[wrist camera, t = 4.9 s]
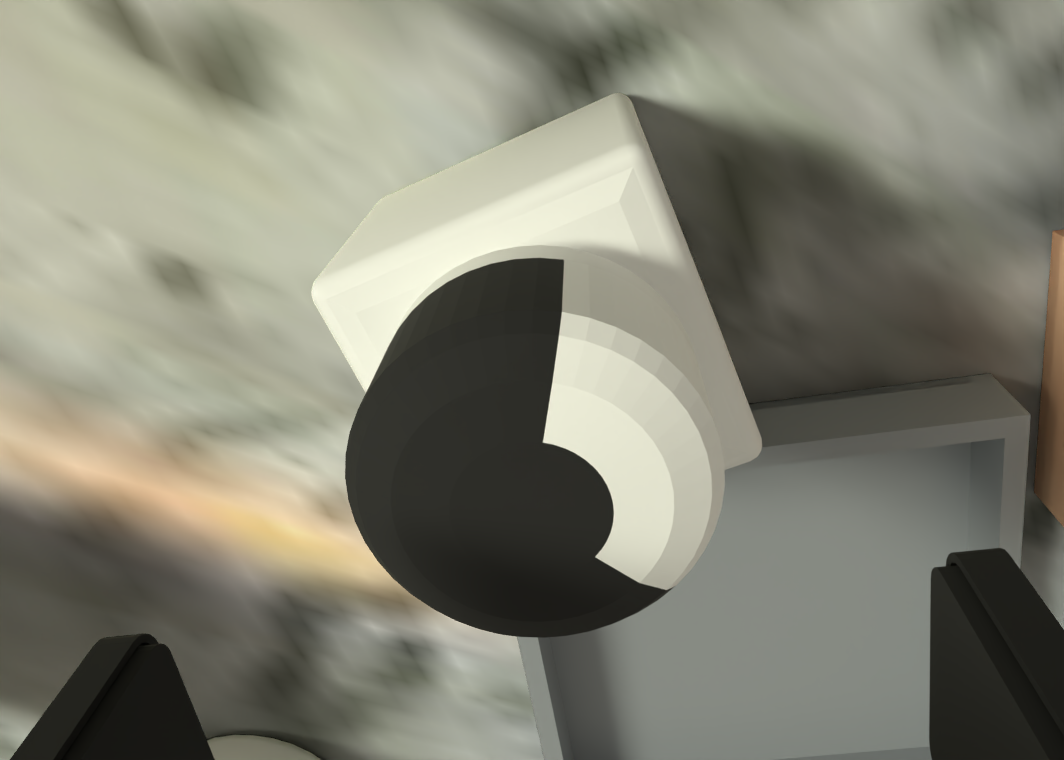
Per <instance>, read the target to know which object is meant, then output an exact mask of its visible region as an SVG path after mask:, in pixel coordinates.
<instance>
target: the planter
mask: <svg viewBox="0 0 1064 760" xmlns="http://www.w3.org/2000/svg"><path fill="white" fill-rule="evenodd" d="M1034 493H1035V494H1036V495H1037V496H1038V497H1039V499H1040V500H1041V501H1042V502H1043V503H1044V504H1045V506H1046V507H1047V508H1048V509H1049V510H1050V512H1051V513H1052V514H1053V515H1054V516H1055V517H1056V519H1057V520H1058V521H1059V522H1060V523H1061V525H1062V526H1063V527H1064V229H1063V230H1056V231H1053V234H1052V248H1051V262H1050V276H1049V290H1048V304H1047V318H1046V331H1045V345H1044V359H1043V373H1042V387H1041V401H1040V415H1039V428H1038V442H1037V456H1036V470H1035V484H1034Z"/></svg>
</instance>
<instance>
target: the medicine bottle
mask: <svg viewBox="0 0 1064 760" xmlns="http://www.w3.org/2000/svg"><path fill="white" fill-rule="evenodd" d="M311 294H312V298H313V302H314V304H315V305H316V307H317V309H318V310H319V312H320V314H321V316H322V317H323V319H324V321H325V323H326V324H327V326H328V328H329V330H330V331H331V333H332V335H333V337H334V338H335V340H336V342H337V344H338V345H339V347H340V349H341V351H342V352H343V354H344V356H345V357H346V359H347V361H348V363H349V364H350V366H351V368H352V370H353V371H354V373H355V375H356V377H357V378H358V380H359V382H360V384H361V385H362V387H363V389H364V391H365V392H366V394H365V396H364V398H363V400H362V402H361V404H360V407H359V409H358V411H357V414H356V416H355V419H354V422H353V425H352V428H351V430H350V434H349V440H348V445H347V451H346V468H345V479H346V486H347V493H348V500H349V503H350V506H351V510H352V513H353V516H354V519H355V522H356V524H357V526H358V528H359V531H360V533H361V535H362V537H363V539H364V541H365V543H366V544H367V546H368V547H369V549H370V550H371V552H372V553H373V555H374V556H375V558H376V559H377V561H378V562H379V563H380V564H381V565H382V566H383V568H384V569H385V570H386V571H387V572H388V573H389V574H390V575H391V577H392V578H393V579H394V580H396V581H397V582H398V583H399V584H400V585H401V586H402V587H404V588H405V589H406V590H407V591H408V592H409V593H411V594H412V595H413V596H415V597H416V598H418V599H419V600H421V601H422V602H424V603H425V604H427V605H428V606H430V607H431V608H433V609H435V610H436V611H438V612H440V613H442V614H444V615H446V616H448V617H450V618H452V619H454V620H456V621H459V622H461V623H464V624H467V625H469V626H472V627H475V628H478V629H482V630H485V631H489V632H493V633H497V634H503V635H510V636H518V637H538V638H547V637H559V636H569V635H574V634H579V633H584V632H589V631H592V630H596V629H599V628H602V627H605V626H608V625H611V624H614V623H616V622H618V621H621V620H623V619H625V618H627V617H629V616H632V615H634V614H636V613H638V612H640V611H641V610H643V609H645V608H646V607H648V606H650V605H651V604H653V603H654V602H656V601H658V600H659V599H660V598H661V597H663V596H664V595H665V594H666V593H668V592H669V591H670V590H671V589H673V588H674V587H675V586H676V585H677V584H678V583H679V582H680V581H681V580H682V579H683V578H684V577H685V576H686V575H687V573H688V572H689V571H690V570H691V569H692V568H693V566H694V565H695V564H696V562H697V561H698V559H699V558H700V556H701V555H702V554H703V552H704V551H705V549H706V547H707V545H708V543H709V541H710V539H711V537H712V535H713V533H714V531H715V528H716V525H717V521H718V518H719V515H720V512H721V509H722V502H723V495H724V488H725V470H726V469H729V468H732V467H735V466H738V465H741V464H744V463H747V462H750V461H752V460H753V459H755V458H756V457H758V455H759V453H760V452H761V449H762V438H761V435H760V433H759V430H758V428H757V425H756V422H755V420H754V417H753V414H752V412H751V409H750V406H749V404H748V401H747V399H746V396H745V393H744V391H743V388H742V385H741V383H740V380H739V378H738V375H737V372H736V370H735V367H734V364H733V362H732V359H731V357H730V354H729V351H728V349H727V346H726V343H725V341H724V338H723V336H722V333H721V330H720V328H719V325H718V322H717V320H716V317H715V315H714V312H713V310H712V307H711V304H710V302H709V299H708V297H707V294H706V292H705V289H704V286H703V284H702V281H701V279H700V276H699V274H698V271H697V268H696V266H695V263H694V261H693V258H692V256H691V253H690V250H689V248H688V245H687V243H686V240H685V238H684V235H683V232H682V230H681V227H680V225H679V222H678V220H677V217H676V214H675V212H674V209H673V207H672V204H671V202H670V199H669V196H668V194H667V191H666V189H665V186H664V184H663V181H662V178H661V176H660V173H659V171H658V168H657V166H656V163H655V160H654V158H653V155H652V153H651V150H650V148H649V145H648V142H647V140H646V137H645V135H644V132H643V130H642V127H641V124H640V122H639V119H638V117H637V114H636V112H635V109H634V106H633V104H632V102H631V100H630V99H629V98H628V96H626V95H624V94H621V93H616V94H611V95H609V96H607V97H605V98H602V99H600V100H598V101H596V102H594V103H591V104H589V105H587V106H585V107H582V108H580V109H578V110H576V111H574V112H571V113H569V114H567V115H565V116H562V117H560V118H558V119H556V120H554V121H551V122H549V123H547V124H545V125H543V126H540V127H538V128H536V129H534V130H531V131H529V132H527V133H525V134H523V135H520V136H518V137H516V138H514V139H511V140H509V141H507V142H505V143H503V144H500V145H498V146H496V147H494V148H492V149H489V150H487V151H485V152H483V153H480V154H478V155H476V156H474V157H472V158H469V159H467V160H465V161H463V162H460V163H458V164H456V165H454V166H452V167H449V168H447V169H445V170H443V171H441V172H438V173H436V174H434V175H432V176H429V177H427V178H425V179H423V180H421V181H418V182H416V183H414V184H412V185H409V186H407V187H405V188H403V189H401V190H398V191H396V192H394V193H392V194H390V195H387V196H385V197H383V198H382V199H381V200H380V201H378V202H377V204H376V205H375V206H374V207H373V209H372V210H371V211H370V212H369V214H368V215H367V216H366V217H365V219H364V220H363V221H362V222H361V224H360V225H359V226H358V227H357V229H356V230H355V231H354V232H353V234H352V235H351V236H350V237H349V239H348V240H347V241H346V242H345V244H344V245H343V246H342V247H341V249H340V250H339V251H338V252H337V254H336V255H335V256H334V257H333V259H332V260H331V261H330V262H329V264H328V265H327V266H326V267H325V269H324V270H323V271H322V272H321V274H320V275H319V276H318V277H317V279H316V280H315V281H314V283H313V287H312V290H311Z"/></svg>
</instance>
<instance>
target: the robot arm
mask: <svg viewBox="0 0 1064 760" xmlns="http://www.w3.org/2000/svg"><path fill="white" fill-rule="evenodd" d="M929 746H930V753H931V758H932V760H1064V630H1063V628H1062V627H1061V625H1060V624H1059V623H1058V621H1057V620H1056V618H1055V617H1054V616H1053V614H1052V613H1051V611H1050V610H1049V609H1048V607H1047V606H1046V605H1045V603H1044V602H1043V600H1042V599H1041V598H1040V596H1039V595H1038V593H1037V592H1036V591H1035V589H1034V588H1033V586H1032V585H1031V584H1030V582H1029V581H1028V579H1027V578H1026V577H1025V575H1024V574H1023V573H1022V571H1021V570H1020V568H1019V567H1018V566H1017V564H1016V563H1015V561H1014V560H1013V559H1012V557H1011V556H1010V554H1009V553H1008V552H1007V551H1006V550H1005V549H1002V548H993V549H983V550H973V551H963V552H953V553H950V554H949V555H948V557H947V560H946V566H943V567H934V568H933V569H932V572H931V596H930V702H929ZM10 760H215V759H214V757H213V754H212V752H211V749H210V747H209V744H208V742H207V739H206V737H205V735H204V732H203V730H202V727H201V725H200V722H199V720H198V717H197V715H196V713H195V710H194V708H193V705H192V703H191V700H190V698H189V695H188V693H187V691H186V688H185V686H184V683H183V681H182V678H181V676H180V673H179V671H178V668H177V666H176V664H175V661H174V659H173V656H172V654H171V652H170V650H169V648H168V647H167V646H166V645H164V644H158V642H157V641H156V639H155V638H154V637H153V636H151V635H150V634H136V635H126V636H116V637H106V638H103V639H101V640H99V641H98V642H97V643H96V644H95V645H94V646H93V648H92V649H91V650H90V652H89V653H88V654H87V656H86V657H85V658H84V660H83V661H82V663H81V664H80V665H79V667H78V668H77V669H76V671H75V672H74V673H73V675H72V676H71V677H70V679H69V680H68V682H67V683H66V684H65V686H64V687H63V688H62V690H61V691H60V692H59V694H58V695H57V696H56V698H55V699H54V701H53V702H52V703H51V705H50V706H49V707H48V709H47V710H46V711H45V713H44V714H43V715H42V717H41V718H40V720H39V721H38V722H37V724H36V725H35V726H34V728H33V729H32V730H31V732H30V733H29V734H28V736H27V737H26V739H25V740H24V741H23V743H22V744H21V745H20V747H19V748H18V749H17V751H16V752H15V753H14V755H13V756H12V758H11V759H10Z"/></svg>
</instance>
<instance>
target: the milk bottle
mask: <svg viewBox="0 0 1064 760" xmlns="http://www.w3.org/2000/svg"><path fill="white" fill-rule="evenodd" d="M207 742H208V744H209V747H210V749H211V752H212V754H213V757H214V759H215V760H321V759H319V758H318V757H316V756H315V755H314V754H312V753H311V752H309V751H306V750H304V749H302V748H300V747H297V746H295V745H293V744H291V743H287V742H283V741H280V740H277V739H274V738H268V737H261V736H255V735H230V736H224V737H216V738H212V739H209V740H207Z"/></svg>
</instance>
